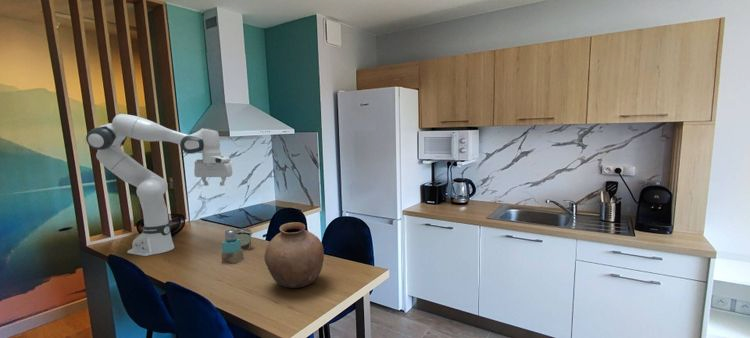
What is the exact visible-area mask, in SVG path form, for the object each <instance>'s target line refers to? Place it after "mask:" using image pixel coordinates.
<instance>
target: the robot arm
mask: <svg viewBox="0 0 750 338" xmlns="http://www.w3.org/2000/svg"><path fill="white" fill-rule="evenodd" d="M127 138H131V139H134V140H138V141H143V142H170V143H173V144H177V145H179V146H180V149H181V150H182V151H183V152H184V153H186V154H189V155H193V154H201V155H202V156H201V157H202V159H198V158H197V159H196V160H194V172H193V173H194V174H193V175H194V177H195V178H200V180H201V181H202V182H203V186H209V181H208V180H206V179H207V178H220V179H221V181H220V182H219V186H220V187H222V186H225V183H226V180H227V178H228V177H229V178H230V177H232V175H233V166H232V163H231V157H227V156H225V155H222V152H221V149H220V148H221V147H220V146H221V141H220V140H221V139H220V134H219V132H218V130H217V129H215V128H212V127H211V128H209V127H201V128H200V129H199V130H198V131H196V132H194V133H191V134H189V133H188V134H187V133H184V132H180V131H177V130H174V129H171V128H167V127H166V126H163V125H161V124H159V123H156V122H155V121H152V120H149V119H147V118H144V117H141V116H137V115H133V114H132V115H131V114H126V113H118V114H117V115H115V116H114V117H113V119H112V122H109V123H105V124H102V125H100V126H98V127H95V128H92V129H91V130H89V131H88V132H87V134H86V136H85V141H86V143H87V145H88V146H89V147H91V148H92V149H94V150H97V152H96V153H95V154H96V155H95V157H96V160H98V161H99V162H100V164H102V166H104V167H105V168H106V169H107V170H109V171H110V172H111V173H112V174H113V175H115V176H117V178H119V179H120V180H122V181H123V182H124V183H127V184H130V185H132V186H134V187H136V191H135V192H136V195H137V197H138V199H139V204H140V206H141V207H140V208H141V210H142V216H143V224H144V225H143V226H141V227H140V230H142V231H141V233H140V234H139V235H138V236H136V237H135V238H134V239H133V240H132V247H131V248H130V249H129V250H127V254H130V255H131V254H132V255H136V256H142V257H147V256H152V255H158V254H159V255H160V254H163V253H166V252H167V253H168V252H170V251H172V250H174V249H175V244H174V242H173V237H172V234H171V224H170V222H169V213H168V212H169V211H168V207H167V205H166V202H165V198H164V194H165V193H166V192H167V190H168V182H167V180H166V179H165V178H164V177H161V176H160V175H158V174H156V173H155V172H153V171H152V170H150V169H148V168H146V167H145V166H143V165H142V164H141V163H139V162H138V161H137V160H135V159H134V158H133V157H131V156H130V155H129V154H127V153H126V152H125V151H123V150H122V147H123V146H124V144H125V142H126V140H127Z"/></svg>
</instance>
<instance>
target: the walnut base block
mask: <svg viewBox="0 0 750 338" xmlns="http://www.w3.org/2000/svg"><path fill="white" fill-rule="evenodd" d="M220 255H221V263H222V264H232V265H236V264H238V263H239V262H240V261H242V260H243V259H244V250H243V249H241V250H239V251H237V252H236V253H223V252H222V253H220Z"/></svg>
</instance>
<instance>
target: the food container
mask: <svg viewBox="0 0 750 338" xmlns="http://www.w3.org/2000/svg"><path fill="white" fill-rule="evenodd" d="M235 230H236V235H237V239H240V241H241V249H243V251H250V250H251V249H252V247H251V245H252V244H251V243H252V242H251V241H252V235H253V233H252V230H251V229H250V228H239V229H235Z"/></svg>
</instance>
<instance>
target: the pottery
mask: <svg viewBox="0 0 750 338" xmlns="http://www.w3.org/2000/svg"><path fill="white" fill-rule="evenodd" d="M279 231H280V232H279V233H277V234H276V235H275V236H274V237H273V238H271V240H270V241H269V243H268V245H267V246H266V249H265V253H264V262H265V266H266V268H267V269H268V271H269V274H270V276H271V277H272V279H273V280H274V282H276V283H277V284H278V285H280V286H282V287H286V288H289V289H298V288H299V289H300V288H303V287H306V286H308V285H309V286H310V284H312V283H314V282H315V281H316V280H317V279H318V277H319V275H320V274H321V272H322V269H323V265H324V259H325V255H324V254H325V253H324V252H325V250H324V246H323V243H322V242H321V240H320V238H319V237H318V236H317V235H315V234H314V233H312V232H310V231H309V230H306V225H305V224H304V223H303V222H296V221H295V222H293V221H292V222H287V223H284V224H281V225H280V227H279Z"/></svg>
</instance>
